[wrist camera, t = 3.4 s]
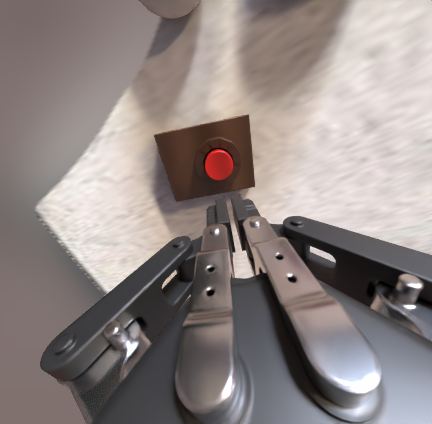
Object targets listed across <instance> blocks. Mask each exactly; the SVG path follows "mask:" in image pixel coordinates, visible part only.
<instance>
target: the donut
mask: <svg viewBox="0 0 432 424" xmlns="http://www.w3.org/2000/svg"><path fill="white" fill-rule="evenodd" d="M139 1H140V2H141V3H142V4H143V5H144V6H145V7H146V8H147V9H148V10H149V11H151V12H153V13H155V14H157V15H158V16H160V17H162V18H172V19H176V18H179V17H182V16H184V15H187V14H189V13H190V12H191V11H192V10H193V9H194V8H195V7H196V6H197V5H198V4H199V2H200V0H139Z"/></svg>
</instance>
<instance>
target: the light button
mask: <svg viewBox="0 0 432 424" xmlns="http://www.w3.org/2000/svg"><path fill="white" fill-rule="evenodd" d="M205 170H206V173H207V174H208V175H209V176H210V177H211V178H212V179H215V180H222V179H225V178H227V177H228V176H229V175H230V174H231V172H232V170H233V161H232V159H231V157H230V155H229V154H228V153H227V152H226V151H224V150H221V149H216V150H213V151H211V152H210V153H209V154H208V155H207V157H206V160H205Z"/></svg>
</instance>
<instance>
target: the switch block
mask: <svg viewBox="0 0 432 424" xmlns="http://www.w3.org/2000/svg"><path fill="white" fill-rule="evenodd" d="M154 137H155V140H156V143H157V146H158V149H159V152H160V155H161V158H162V161H163V164H164V167H165V170H166V173H167V176H168V179H169V182H170V185H171V188H172V191H173V194H174V197H175V200H176V202H178V201H183V200H188V199H194V198H199V197H204V196H209V195H214V194H219V193H224V192H230V191H235V190H240V189H245V188H250V187H255V180H254V168H253V157H252V145H251V134H250V122H249V115H242V116H237V117H233V118H228V119H223V120H219V121H214V122H210V123H205V124H200V125H196V126H191V127H187V128H182V129H177V130H173V131H168V132H163V133H159V134H156V135H154ZM216 149H221V150H224V151H226V152H227V153H228V154H229V155H230V157H231V159H232V161H233V170H232V172H231V174H230V175H229V176H228V177H227V178H225V179H222V180H215V179H212V178H211V177H210V176H209V175H208V174H207V173H206V170H205V160H206V157H207V155H208V154H209V153H210V152H211V151H213V150H216Z"/></svg>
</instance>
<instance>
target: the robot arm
mask: <svg viewBox="0 0 432 424" xmlns="http://www.w3.org/2000/svg"><path fill="white" fill-rule="evenodd" d="M230 197H231V204H232V210H233V216H234V221H235V225H236V228H237V232H238V236H239V240H240V244H241V248H242V251H244V250H246V252H247V257H248V262H249V265H250V267H251V270H252V273H253V277H251V278H248V279H242V278H235V273H234V265H233V252H235V247H234V241H233V236H232V230H231V225H230V219H229V215H228V210H227V205H226V201H225V197H222V198H217V199H215V202H216V205H214V206H209V208H208V209H207V227H206V228H205V229H204V230H203V235H202V236H201V237H199V238H197V239H195V240H193V241H191V239H190V238H189V237H186V236H181V237H177V238H175V239H173V240H171V241H170V242H169V243H168V244H166V245H165V246H164V247H163V248H162V249H160V250H159V251H158V252H157V253H156V254H155V255H153V256H152V257H151V258H150V259H149V260H147V261H146V262H145V263H144V264H143V265H141V266H140V267H139V268H138V269H137V270H135V271H134V272H133V273H132V274H131V275H129V276H128V277H127V278H126V279H125V280H123V281H122V282H121V283H120V284H119V285H117V286H116V287H115V288H114V289H113V290H112V291H110V292H109V293H108V294H107V295H106V296H104V297H103V298H102V299H101V300H100V301H98V302H97V303H96V304H95V305H94V306H92V307H91V308H90V309H89V310H88V311H86V312H85V313H84V314H83V315H82V316H81V317H79V318H78V319H77V320H76V321H74V322H73V323H72V324H71V325H70V326H68V327H67V328H66V329H65V330H64V331H63V332H61V333H60V334H59V335H58V336H57V337H56V338H55V339H54V340H53V341H52V342H51V343H50V344H49V346H48V347H47V348H46V350H45V352H44V353H43V355H42V358H41V361H40V366H41V369H42V370H44V371H45V372H47V373H48V374H50V375H51V376H53V377H54V378H56V379H57V381H58V382H59V383H60V384H62V385H63V386H65V387H66V388H68V389H69V390H71V392H72V394H73V396H74V399H75V401H76V403H77V405H78V407H79V409H80V411H81V413H82V415H83V417H84V419H85V421H86V423H87V424H432V255H429V254H426V253H422V252H419V251H416V250H412V249H409V248H406V247H402V246H399V245H396V244H392V243H389V242H385V241H382V240H379V239H375V238H372V237H369V236H365V235H362V234H359V233H355V232H352V231H349V230H345V229H342V228H339V227H335V226H332V225H329V224H325V223H322V222H318V221H315V220H312V219H308V218H305V217H301V216H292V217H288V218H286V219H285V220H284V221H283V224H270V223H268V221H267V220H266V219H265V218H263V217H261V216H260V214H259V212H258V210H257V208H256V207H255V205H254V203H253V201H251V200H249V199H245V200H242V197H241V195H240V194H237V195H232V196H230ZM310 246H312V247H315V248H317V249H319V250H322V251H324V252H327V253H329V254H331V255H332V256H333V257H334V258H335V260H336V263H334V262H332V261H330V260H327V259H325V258H323V257H321V256H318V255H316V254H314V253H311V252H310ZM175 270H176V271H177V274H176V275H175V276H174V277H173V278H172V279H171V280H170V281H169V283H168V284H167V285H166V286H165V287H164V288H163V289H162V284H163V282H164V281H165V280H166V279H167V278H168V277H169V276H170V275H171V274H172V273H173V272H174V271H175ZM190 294H191V296H190ZM189 296H190V297H189ZM188 297H189V298H188ZM187 298H188V299H187ZM186 299H187V300H186ZM174 314H175V315H174ZM170 319H171V320H170ZM166 324H167V325H166ZM163 328H164V329H163ZM159 333H160V334H159ZM155 338H156V339H155ZM152 342H153V343H152ZM151 343H152V344H151Z"/></svg>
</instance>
